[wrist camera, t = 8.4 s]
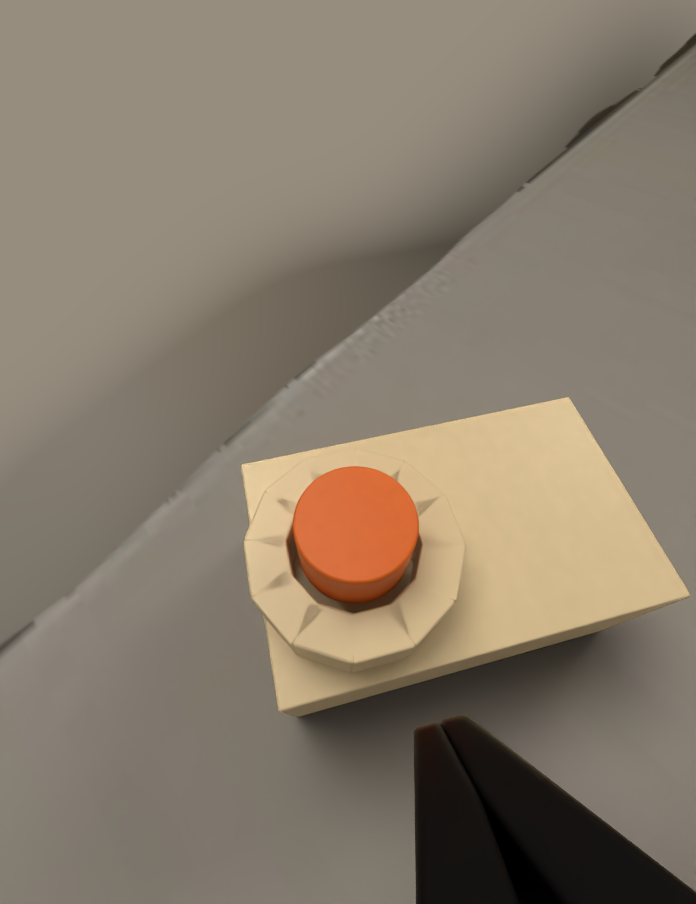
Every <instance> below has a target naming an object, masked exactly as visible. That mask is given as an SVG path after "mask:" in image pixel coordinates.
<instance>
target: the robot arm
mask: <svg viewBox="0 0 696 904" xmlns="http://www.w3.org/2000/svg"><path fill="white" fill-rule="evenodd" d="M414 782H415V855H416V904H696V892H695V891H694V890H692V889H691V888H690V887H689V886H687V885H686V884H685V883H683V882H682V881H681V880H680V879H678V878H677V877H676V876H674V875H673V874H672V873H670V872H669V871H668V870H667V869H665V868H664V867H663V866H661V865H660V864H659V863H658V862H656V861H655V860H654V859H652V858H651V857H650V856H648V855H647V854H646V853H645V852H643V851H642V850H641V849H639V848H638V847H637V846H636V845H634V844H633V843H632V842H630V841H629V840H628V839H626V838H625V837H624V836H623V835H621V834H620V833H619V832H617V831H616V830H615V829H614V828H612V827H611V826H610V825H608V824H607V823H606V822H604V821H603V820H602V819H601V818H599V817H598V816H597V815H595V814H594V813H593V812H592V811H590V810H589V809H588V808H586V807H585V806H584V805H582V804H581V803H580V802H579V801H577V800H576V799H575V798H573V797H572V796H571V795H570V794H568V793H567V792H566V791H564V790H563V789H562V788H560V787H559V786H558V785H557V784H555V783H554V782H553V781H551V780H550V779H549V778H548V777H546V776H545V775H544V774H542V773H541V772H540V771H538V770H537V769H536V768H535V767H533V766H532V765H531V764H529V763H528V762H527V761H526V760H524V759H523V758H522V757H520V756H519V755H518V754H516V753H515V752H514V751H513V750H511V749H510V748H509V747H507V746H506V745H505V744H504V743H502V742H501V741H500V740H498V739H497V738H496V737H494V736H493V735H492V734H491V733H489V732H488V731H487V730H485V729H484V728H483V727H482V726H480V725H479V724H478V723H476V722H475V721H474V720H472V719H471V718H470V717H468V716H467V715H458V716H455V717H451V718H448V719H445V720H443V721H442V722H441V724H439V723H437V722H435V723H431V724H428V725H425V726H421V727H418V728H416V729H415V731H414Z"/></svg>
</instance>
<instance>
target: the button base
mask: <svg viewBox="0 0 696 904" xmlns="http://www.w3.org/2000/svg"><path fill="white" fill-rule="evenodd" d="M349 466H361V467H368V468H372V469H376V470H379V471H381V472H383V473H385V474H387V475H389V476H391V477H392V478H393V479H395V480H396V481H397V482H399V483H400V484H401V485H402V486H403V487H404V489H405V490H406V491H407V492H408V494H409V495H410V497H411V498H412V500H413V502H414V505H415V507H416V510H417V514H418V519H419V534H418V540H417V543H416V546H415V549H414V551H413V554H412V556H411V559H410V561H409V564H408V566H407V568H406V571H405V573H404V575H403V577H402V578H401V580H400V581H399V583H398V584H397V585H396V586H395V587H394V588H393V589H392V590H391V591H390V592H388V593H387V594H385V595H384V596H382V597H380V598H378V599H376V600H373V601H370V602H365V603H345V602H340V601H337V600H334V599H331V598H329V597H327V596H326V595H324V594H322V593H321V592H320V591H318V590H317V589H316V588H315V587H314V586H313V585H312V584H311V583H310V581H309V580H308V579H307V577H306V575H305V574H304V571H303V569H302V567H301V563H300V560H299V556H298V551H297V547H296V543H295V539H294V534H293V516H294V511H295V508H296V505H297V503H298V500H299V498H300V497H301V495H302V493H303V492H304V491H305V489H306V488H307V487H308V486H309V485H310V484H311V483H312V482H313V481H314V480H316V479H317V478H318V477H320V476H321V475H323V474H325V473H327V472H329V471H332V470H334V469H338V468H342V467H349ZM241 470H242V477H243V483H244V490H245V496H246V503H247V509H248V516H249V522H250V526H249V528H248V531H247V533H246V535H245V538H244V543H243V546H244V553H245V560H246V567H247V574H248V581H249V588H250V595H251V597H252V600H253V602H254V603H255V605H256V606H257V608H258V609H259V611H260V612H261V614H262V615H263V616H264V620H265V627H266V633H267V640H268V646H269V653H270V659H271V666H272V673H273V679H274V686H275V692H276V699H277V705H278V710H279V712H283V713H286V714H289V715H293V716H296V717H300V716H303V715H307V714H310V713H314V712H317V711H321V710H324V709H328V708H331V707H335V706H338V705H342V704H346V703H349V702H353V701H356V700H360V699H363V698H367V697H370V696H374V695H377V694H381V693H384V692H388V691H391V690H395V689H398V688H402V687H405V686H409V685H412V684H416V683H419V682H423V681H426V680H430V679H433V678H437V677H440V676H444V675H447V674H451V673H454V672H458V671H461V670H465V669H469V668H472V667H476V666H479V665H483V664H486V663H490V662H493V661H497V660H500V659H504V658H507V657H511V656H514V655H518V654H521V653H525V652H528V651H532V650H535V649H539V648H542V647H546V646H549V645H553V644H556V643H560V642H563V641H567V640H570V639H574V638H577V637H581V636H585V635H588V634H592V633H595V632H599V631H601V630H604V629H607V628H609V627H612V626H614V625H617V624H620V623H622V622H625V621H628V620H630V619H633V618H635V617H638V616H641V615H643V614H646V613H648V612H651V611H654V610H656V609H659V608H662V607H664V606H667V605H669V604H672V603H675V602H677V601H680V600H682V599H685V598H688V597H689V596H690V593H689V592H688V590H687V588H686V587H685V585H684V583H683V582H682V580H681V579H680V577H679V575H678V574H677V572H676V570H675V569H674V567H673V566H672V564H671V562H670V561H669V559H668V557H667V556H666V554H665V553H664V551H663V549H662V548H661V546H660V544H659V543H658V541H657V540H656V538H655V536H654V535H653V533H652V531H651V530H650V528H649V527H648V525H647V523H646V522H645V520H644V518H643V517H642V515H641V514H640V512H639V510H638V509H637V507H636V505H635V504H634V502H633V501H632V499H631V497H630V496H629V494H628V492H627V491H626V489H625V488H624V486H623V484H622V483H621V481H620V479H619V478H618V476H617V475H616V473H615V471H614V470H613V468H612V466H611V465H610V463H609V462H608V460H607V458H606V457H605V455H604V453H603V452H602V450H601V449H600V447H599V445H598V444H597V442H596V440H595V439H594V437H593V436H592V434H591V432H590V431H589V429H588V427H587V426H586V424H585V423H584V421H583V419H582V418H581V416H580V414H579V413H578V411H577V410H576V408H575V406H574V405H573V403H572V401H571V400H570V398H568V397H567V398H562V399H558V400H553V401H548V402H543V403H538V404H533V405H528V406H524V407H519V408H514V409H509V410H504V411H499V412H494V413H490V414H485V415H480V416H475V417H470V418H465V419H461V420H456V421H451V422H446V423H441V424H436V425H431V426H427V427H422V428H417V429H412V430H407V431H402V432H398V433H393V434H388V435H383V436H378V437H373V438H368V439H364V440H359V441H354V442H349V443H344V444H339V445H334V446H330V447H325V448H320V449H315V450H310V451H305V452H301V453H296V454H291V455H286V456H281V457H276V458H271V459H267V460H262V461H257V462H252V463H247V464H243V465H241Z"/></svg>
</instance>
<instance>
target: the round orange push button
mask: <svg viewBox="0 0 696 904" xmlns="http://www.w3.org/2000/svg"><path fill="white" fill-rule="evenodd" d="M293 534H294V539H295V543H296V547H297V551H298V556H299V560H300V563H301V567H302V569H303V571H304V574H305V575H306V577H307V579H308V580H309V581H310V583H311V584H312V585H313V586H314V587H315V588H316V589H317V590H318V591H320V592H321V593H322V594H324V595H326V596H327V597H329V598H331V599H334V600H337V601H340V602H345V603H365V602H370V601H373V600H376V599H378V598H380V597H382V596H384V595H385V594H387V593H388V592H390V591H391V590H392V589H393V588H394V587H395V586H396V585H397V584H398V583H399V581H400V580H401V578H402V577H403V575H404V573H405V571H406V568H407V566H408V564H409V561H410V559H411V556H412V554H413V551H414V549H415V546H416V543H417V540H418V534H419V519H418V514H417V510H416V507H415V505H414V502H413V500H412V498H411V497H410V495H409V494H408V492H407V491H406V490H405V489H404V487H403V486H402V485H401V484H400V483H399V482H397V481H396V480H395V479H393V478H392V477H391V476H389V475H387V474H385V473H383V472H381V471H379V470H376V469H372V468H368V467H361V466H349V467H342V468H338V469H334V470H332V471H329V472H327V473H325V474H323V475H321V476H320V477H318V478H317V479H316V480H314V481H313V482H312V483H311V484H310V485H309V486H308V487H307V488H306V489H305V491H304V492H303V493H302V495H301V497H300V498H299V500H298V503H297V505H296V508H295V511H294V516H293Z"/></svg>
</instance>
